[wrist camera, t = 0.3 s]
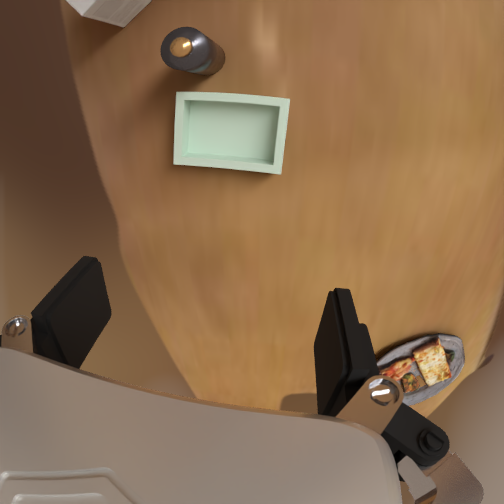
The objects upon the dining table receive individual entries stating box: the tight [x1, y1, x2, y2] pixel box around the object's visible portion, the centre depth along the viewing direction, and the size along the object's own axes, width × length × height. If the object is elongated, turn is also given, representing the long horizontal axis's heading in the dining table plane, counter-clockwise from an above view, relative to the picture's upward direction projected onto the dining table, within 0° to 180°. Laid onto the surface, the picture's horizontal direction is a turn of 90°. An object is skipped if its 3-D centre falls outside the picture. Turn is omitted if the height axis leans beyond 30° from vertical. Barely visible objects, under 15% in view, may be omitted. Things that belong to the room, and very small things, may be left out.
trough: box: [174, 92, 290, 174], centre depth 35 cm, size 9×13×4 cm
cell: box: [161, 27, 225, 75], centre depth 27 cm, size 4×4×11 cm
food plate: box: [377, 333, 465, 406], centre depth 54 cm, size 25×23×4 cm
